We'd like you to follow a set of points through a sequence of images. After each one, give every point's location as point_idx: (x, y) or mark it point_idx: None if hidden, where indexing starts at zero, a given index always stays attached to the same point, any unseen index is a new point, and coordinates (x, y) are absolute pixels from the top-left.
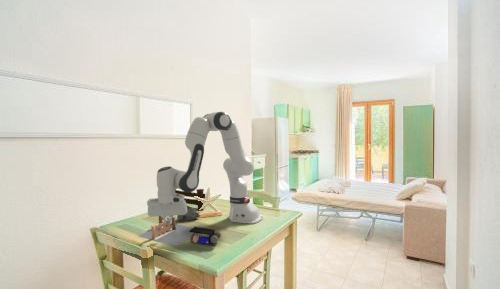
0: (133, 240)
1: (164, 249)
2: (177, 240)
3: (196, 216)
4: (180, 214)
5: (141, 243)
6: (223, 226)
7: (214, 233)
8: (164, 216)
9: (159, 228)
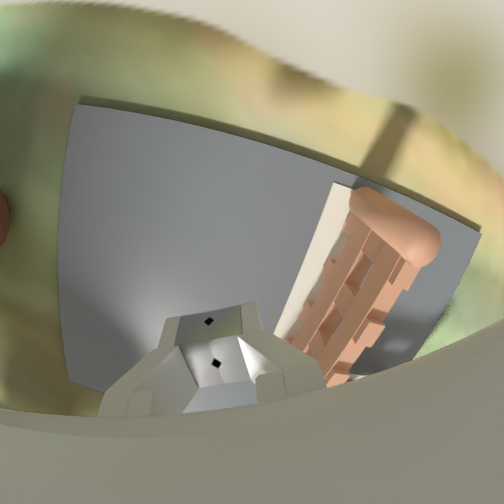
0: (482, 173)
1: (148, 33)
2: (114, 199)
3: None
4: None
5: (417, 119)
6: (29, 407)
7: None
8: (275, 396)
9: (354, 293)
